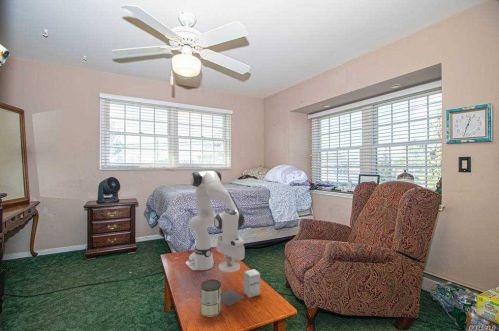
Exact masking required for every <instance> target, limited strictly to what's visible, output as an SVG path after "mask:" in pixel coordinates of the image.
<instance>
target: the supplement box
mask: <svg viewBox="0 0 499 331" xmlns="http://www.w3.org/2000/svg"><path fill="white" fill-rule="evenodd" d="M243 293H244V294H245V295H246V296H247V297H248V298H253V297H256V296H260V294H261V272H259V271H258V270H256V269H255V268H254V269H250V270H244V271H243Z"/></svg>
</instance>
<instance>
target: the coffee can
mask: <svg viewBox="0 0 499 331" xmlns="http://www.w3.org/2000/svg"><path fill="white" fill-rule="evenodd" d="M221 289H222V283H221V281H220V280H217V279H207V280H204V281H202V282H201V283H200V314H201V315H202V316H203V317H207V318H209V317H210V318H211V317H216V316H218V315H219V314H220V313H221V310H222V309H221V308H222V306H221V304H222V303H221V294H222V290H221Z"/></svg>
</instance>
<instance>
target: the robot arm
mask: <svg viewBox="0 0 499 331" xmlns="http://www.w3.org/2000/svg"><path fill="white" fill-rule="evenodd" d="M190 183H191V185H192V186H193V187H195V207H196V208H197V209H198V210H199V215H195V216H192V218H191V219H190V220H189V224H188V225H189V228H190V230H192V232H194V236H195V247H193V249H194V251H193V252H192V253H191V254H190V255H189V256H188V260H187V261H185V265H186V266H187V267H188V268H190V270H192V271H207V270H210V269H212V268H213V267H214V264H215V261H214V259H213V252H212V251H213V248H212V235H211V234H209V231H208V228H210V227H212V226H214V227H215V229H217V230H222V234H221V235H219V236H218V237H217V241H216V248H215V249H216V251H217V252H218V253H221V254H223V257H224V262H227V257H231V259H232V261H230V264H231V265H233V264H234V262H236V260H237V261H242V260H244V259H245V257H246V255H245V254H246V252H245V250H246V249H245V248H246V247H245V246H244V244H245V242H246V241H245V239H244V238H242V237H240V235H239V231H238V229H241V228H242V227H243V226H244V224H245V220H246V219H245V216H244V214H243V213H242V211H241V209H239V207H238V205H237V203H236V201H235V199H234V197H233V196H232V194H231V193H230V192H229V191H228V190H227V189H226V188H225V187H224V186H223V184H222V174H221V172H220V171H217V170H202V171H194V172H192V174H191V175H190ZM212 200H214V201H220V202H222V203H224V204H226V205H227V207H228V209H225V210H223V212H220V213H217V214H216V213H215V212H214V211H213V208H212Z"/></svg>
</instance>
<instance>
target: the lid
mask: <svg viewBox="0 0 499 331" xmlns="http://www.w3.org/2000/svg"><path fill="white" fill-rule="evenodd" d="M230 261H232V259H231V257H230V256H228V257H227V262H225V261H223V262H220V263H219V265H218V269H219V271H221V272H223V273H235V272H238V271H240V268H241V264H240V263H239V262H237V261H234V264H233V265H231V264H230Z"/></svg>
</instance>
